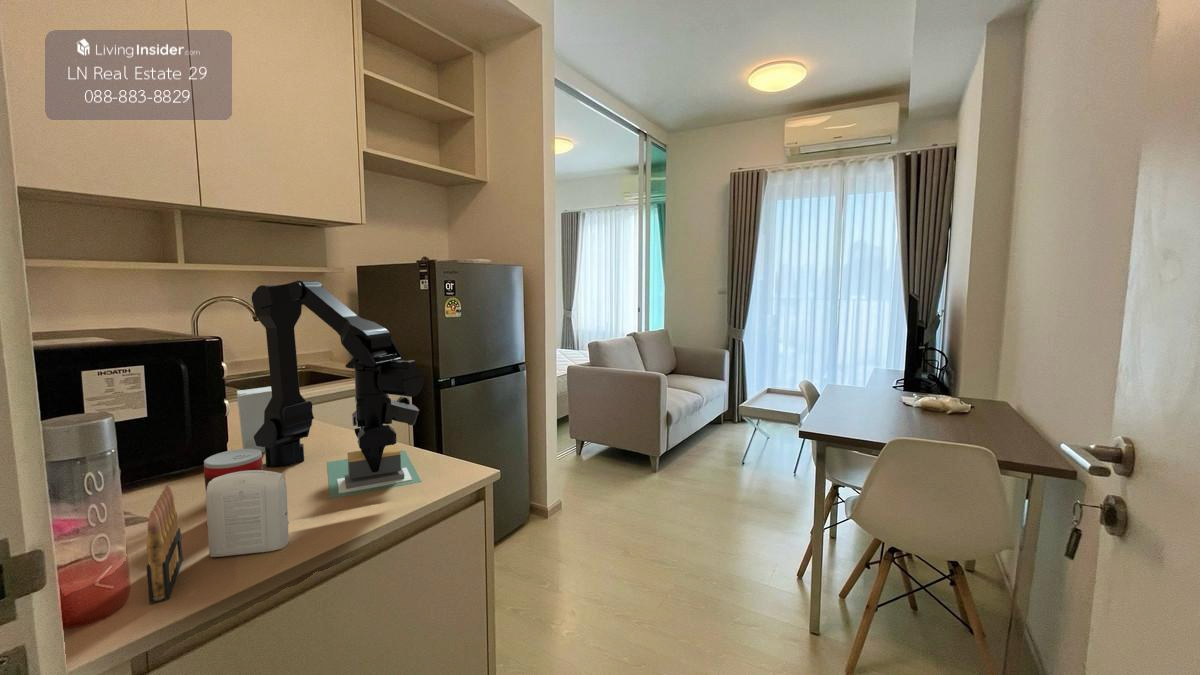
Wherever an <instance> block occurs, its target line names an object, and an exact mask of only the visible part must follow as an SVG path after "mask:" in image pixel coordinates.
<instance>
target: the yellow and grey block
mask: <svg viewBox="0 0 1200 675" xmlns="http://www.w3.org/2000/svg"><path fill="white" fill-rule="evenodd" d="M400 451H401V450H400V447H399V446H398V445H389V446H385V448H384V451H383V455H382V459H381V463H380V467H379V471H378V472H372V470H371V468H370V466H369V464H368V462H367V460H366V458H365V457H364V455H363V453H362V451H361V450H356V451H349V452H348V451H347V453H346V454H347V459H348V473H349V479H354V478H360V477H366V476H372V475H378V474H384V473H390V472H396V471H401V455H400Z"/></svg>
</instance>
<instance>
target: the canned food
mask: <svg viewBox="0 0 1200 675" xmlns="http://www.w3.org/2000/svg"><path fill="white" fill-rule="evenodd" d="M263 463H264V462H263V455H262V453H261V451H260V450H257V449H243V448H237V449H231V450H226V451H222V452H218V453H216V454H213V455H210V456H209V457H207V458H205V459H204V460H203V475H204V476H203V477H204V485H205V486H204V487H205V491H206V490H207V486H208V483H209V482H210V481H212V479H214V478H216V477H219V476H222V475H226V474H229V473H234V472H239V471H249V470H263V471H264V464H263Z"/></svg>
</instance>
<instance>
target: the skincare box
mask: <svg viewBox="0 0 1200 675" xmlns="http://www.w3.org/2000/svg"><path fill="white" fill-rule="evenodd" d="M236 397H237V398H236V401H237V410H238V417H239V426H240V428H239V429H240V434H241V445H242V446H241V447H242V449H257V450H260V451H261V454H262V453H265V447H260V446H256V443H255V440H254V435H255V434H256V433H257V431H258V430H259V429H260V428H261V426H262V425H263V424H264V411H265V409H266V407H267V405H268V403H269V401H270V400H271V398H272V390H271V385H270V386H264V387H257V388H250V389H249V388H248V389H241V390H236Z"/></svg>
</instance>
